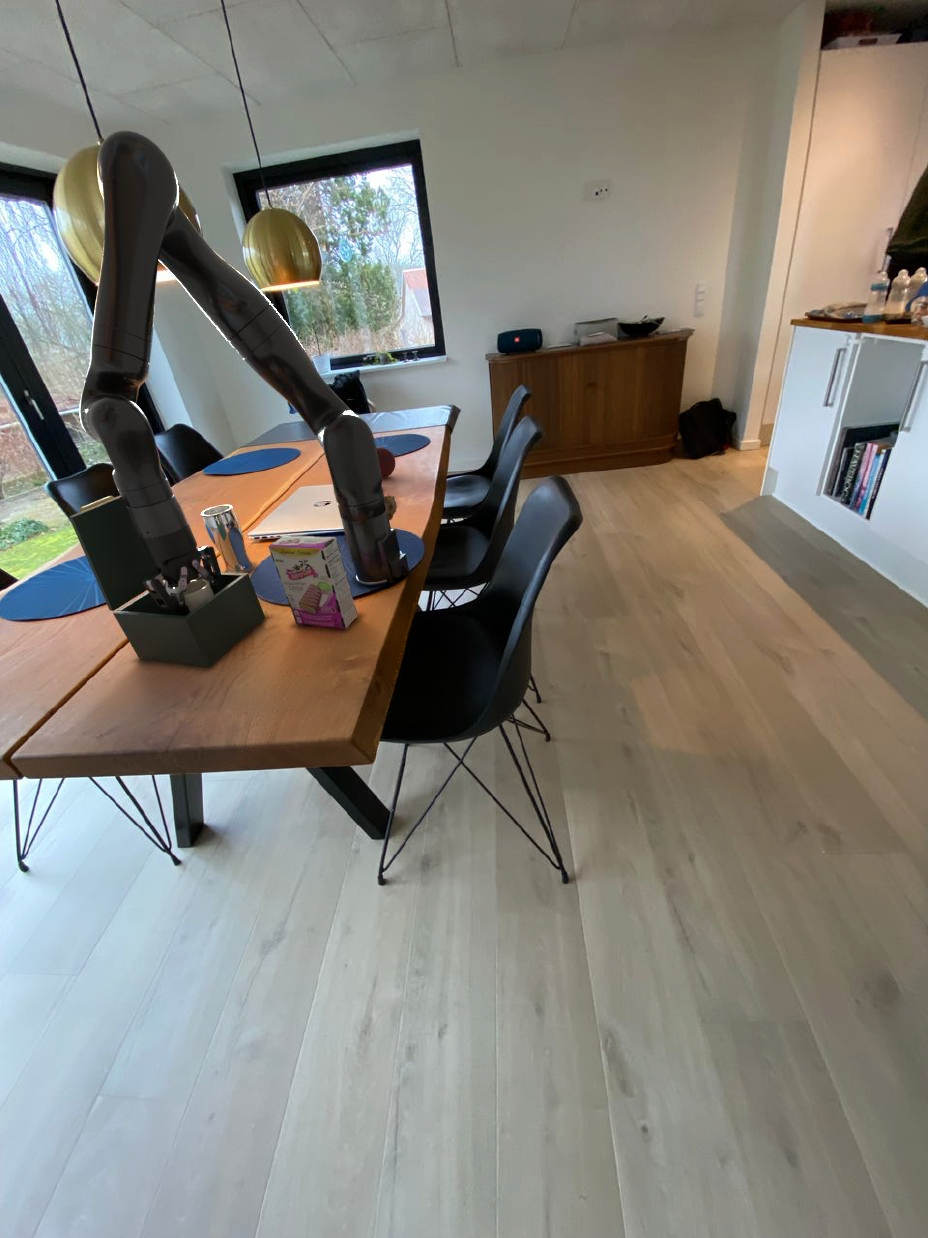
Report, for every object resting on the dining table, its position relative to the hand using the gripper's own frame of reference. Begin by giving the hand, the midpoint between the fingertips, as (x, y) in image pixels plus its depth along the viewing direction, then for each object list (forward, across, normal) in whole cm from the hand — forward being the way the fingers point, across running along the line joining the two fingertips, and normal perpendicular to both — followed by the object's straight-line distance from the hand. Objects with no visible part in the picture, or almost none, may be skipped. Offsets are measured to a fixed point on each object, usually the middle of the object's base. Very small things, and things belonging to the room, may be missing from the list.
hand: (202, 613), depth 92 cm
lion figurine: (+6, +48, -9) cm, 50 cm away
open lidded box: (+6, 0, +2) cm, 6 cm away
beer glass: (+6, +26, +16) cm, 31 cm away
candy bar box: (+6, +9, -20) cm, 22 cm away
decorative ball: (+6, +94, +11) cm, 95 cm away
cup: (+2, 0, 0) cm, 2 cm away
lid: (-13, 0, +9) cm, 16 cm away
